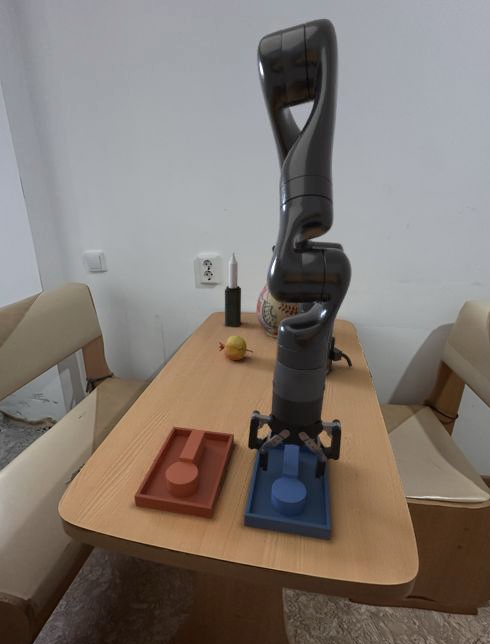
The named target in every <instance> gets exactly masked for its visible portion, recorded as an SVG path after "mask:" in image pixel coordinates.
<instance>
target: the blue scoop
mask: <svg viewBox="0 0 490 644" xmlns="http://www.w3.org/2000/svg"><path fill="white" fill-rule="evenodd" d="M298 462H299V446H296V445H285V454H284V464H283V474H282V478H279V479H277V480H276V481H275V482H274V483H273V485H272V496H271V504H272V506H273V508H274V509H275V510H276V511H277V512H278V513H280V514H282V515H285V516H296V515H298V514H300V513H301V512H302V511H303V510H304V507H305V500H306V488H305V486H304V485H303V483H302V482H300V481H299V480H298Z"/></svg>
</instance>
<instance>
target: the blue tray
mask: <svg viewBox="0 0 490 644" xmlns="http://www.w3.org/2000/svg"><path fill="white" fill-rule="evenodd" d="M263 438H264V437H263ZM263 438H261V437H259V439H263ZM324 446H325V445H324ZM325 447H327V446H325ZM284 454H285V444H283V442H280V443H279V444H278V445H276V446H275V447H274V448H271V449H270V450H269V456H268V467H267V471H263V467H260V466H259V451H258V450H257V451H256V455H255V460H254V465H253V470H252V474H251V480H250V485H249V491H248V496H247V500H246V504H245V510H244V515H243V516H244V517H243V520H244V522H243V525H244V526H246V527H251V528H252V527H253V528H257V529H263V530H268V531H269V530H270V531H274V532H279V533H287V534H293V535H299V536H303V537H309V538H314V539H315V538H316V539H320V540H321V539H322V540H326V541H330V539H331V531H332V522H331V506H330V489H329V472H328V460H327V461H326V468H325V474H324V475H323V476H321V475H320V479H319V478H315V467H316V459H317V456H316V455H315V454H314V453H312V452H311V450H310V449H309V448H308V446H307V445H303V447H301V446H299V462H298V480H299V481H300V482H302V483H303V485H304V486H305V488H306V500H305V507H304V510H303V511H302V512H301V513H300V514H298V515H296V516H285V515H282V514H280V513H278V512H277V511H276V510H275V509H274V508H273V506H272V504H271V496H272V485H273V483H274V482H275V481H276V480H277V479H279V478H282V474H283V464H284Z"/></svg>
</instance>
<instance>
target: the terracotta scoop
mask: <svg viewBox="0 0 490 644" xmlns="http://www.w3.org/2000/svg"><path fill="white" fill-rule="evenodd" d="M192 429H193V430H192V432H191V434H190V436H189V439H188V441H187V443H186V445H185V447H184V449H183V451H182V453H181V455H180V462H177V463H174V464H172V465H171V466H170V467H169V468H168V469H167V471H166V481H167V490H168V492H169V493H170V494H171V495H173V496H175V497H187V496H190V495H192V494H193V493H195V492H196V490H197V489H198V486H199V480H198V469H197V467H198V464H199V462H200V459H201V457H202V454H203V452H204V449H205V447H206V439H205V431H206V430H204V429H203V430H204V431H203V430H202V429H196V430H195V428H192Z"/></svg>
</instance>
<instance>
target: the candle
mask: <svg viewBox="0 0 490 644" xmlns="http://www.w3.org/2000/svg"><path fill="white" fill-rule="evenodd" d="M235 254H236V253H235V252H234V251H233V252H232V253H231V257H230V260H229V262H228V285H226V288H225V289H224V326H225V327H231V328H239V327H240V324H242V323H241V322H242V321H241V320H242V288H241V287H240V286H239V285H238V268H239V267H238V261H237V260H236V256H235Z"/></svg>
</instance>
